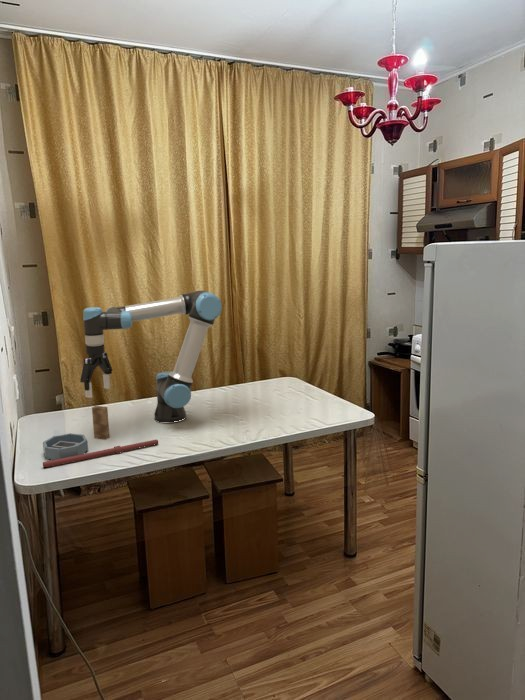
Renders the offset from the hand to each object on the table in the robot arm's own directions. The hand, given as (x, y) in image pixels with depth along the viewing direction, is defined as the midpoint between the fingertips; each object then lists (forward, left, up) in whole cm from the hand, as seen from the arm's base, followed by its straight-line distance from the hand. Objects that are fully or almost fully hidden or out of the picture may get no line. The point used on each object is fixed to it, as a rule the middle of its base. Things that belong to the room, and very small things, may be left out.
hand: (98, 392), depth 219 cm
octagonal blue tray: (+5, +18, -20) cm, 28 cm away
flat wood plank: (0, 0, -20) cm, 21 cm away
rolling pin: (-12, +17, -21) cm, 29 cm away
